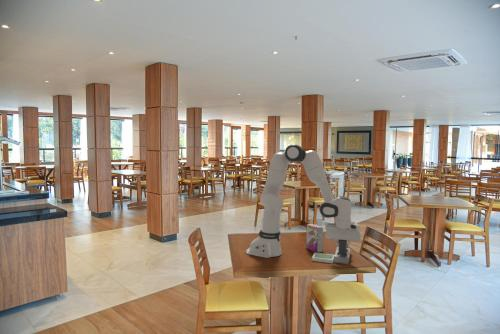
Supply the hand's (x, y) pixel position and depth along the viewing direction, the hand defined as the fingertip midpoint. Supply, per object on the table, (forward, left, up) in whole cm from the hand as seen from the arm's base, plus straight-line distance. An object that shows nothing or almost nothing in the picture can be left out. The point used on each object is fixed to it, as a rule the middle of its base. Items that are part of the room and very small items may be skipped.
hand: (342, 247), depth 203 cm
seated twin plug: (0, +8, -7) cm, 10 cm away
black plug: (0, 0, -4) cm, 4 cm away
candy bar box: (-19, +14, -9) cm, 25 cm away
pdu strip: (0, +4, -8) cm, 9 cm away
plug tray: (-11, -3, -8) cm, 14 cm away
